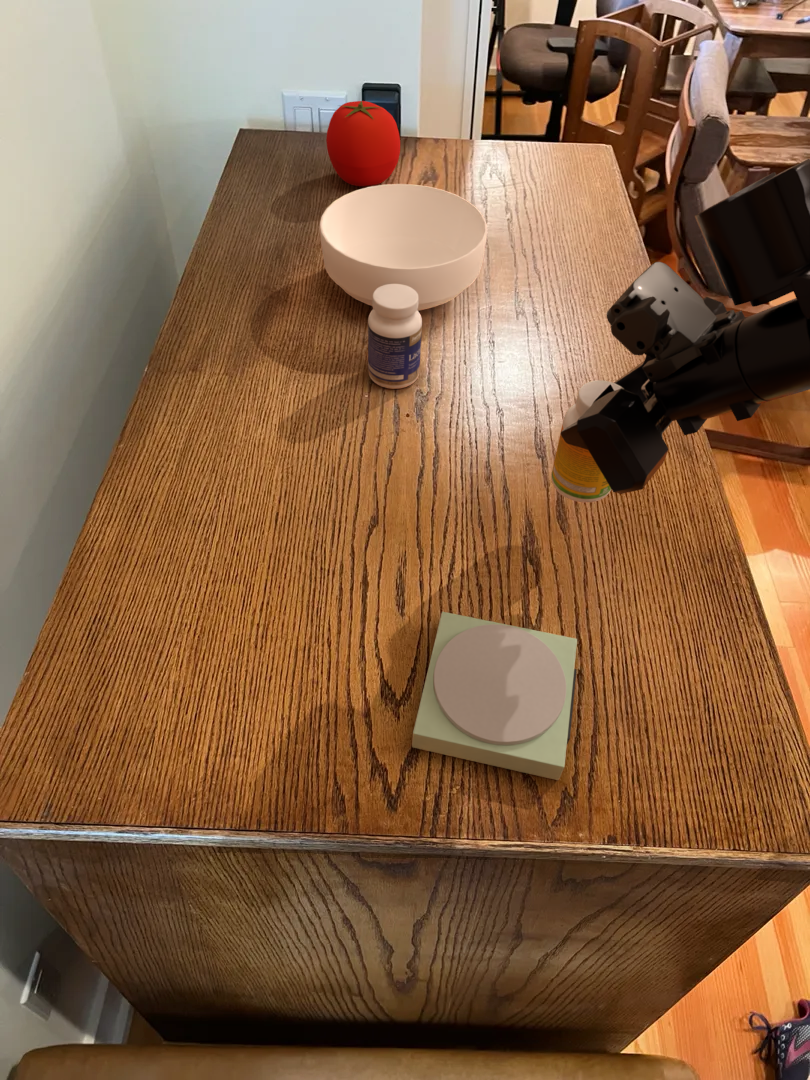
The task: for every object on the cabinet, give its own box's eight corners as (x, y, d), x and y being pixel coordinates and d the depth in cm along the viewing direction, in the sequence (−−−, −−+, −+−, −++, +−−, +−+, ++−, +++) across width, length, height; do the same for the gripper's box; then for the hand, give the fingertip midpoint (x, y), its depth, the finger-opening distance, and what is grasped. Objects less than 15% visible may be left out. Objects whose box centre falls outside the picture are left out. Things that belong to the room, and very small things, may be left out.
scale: (574, 654, 63) (582, 634, 61) (561, 781, 56) (569, 764, 54) (440, 627, 64) (442, 606, 62) (411, 747, 57) (412, 729, 55)
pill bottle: (419, 391, 84) (423, 312, 76) (366, 390, 83) (365, 310, 76) (419, 359, 87) (423, 280, 80) (369, 357, 87) (368, 278, 79)
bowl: (293, 277, 97) (287, 212, 91) (415, 231, 105) (418, 169, 99) (385, 354, 88) (386, 289, 81) (512, 298, 95) (522, 234, 89)
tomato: (363, 157, 119) (362, 81, 110) (413, 181, 114) (415, 103, 106) (312, 180, 114) (307, 101, 105) (362, 205, 109) (361, 126, 101)
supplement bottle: (605, 511, 65) (632, 425, 58) (543, 494, 67) (562, 407, 59) (617, 470, 69) (644, 383, 61) (558, 455, 70) (578, 367, 62)
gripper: (760, 195, 53) (588, 284, 66) (638, 316, 43) (464, 393, 56) (825, 333, 56) (649, 393, 69) (725, 475, 46) (541, 514, 59)
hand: (581, 418), depth 63 cm, fingers closed on supplement bottle, 5 cm apart
